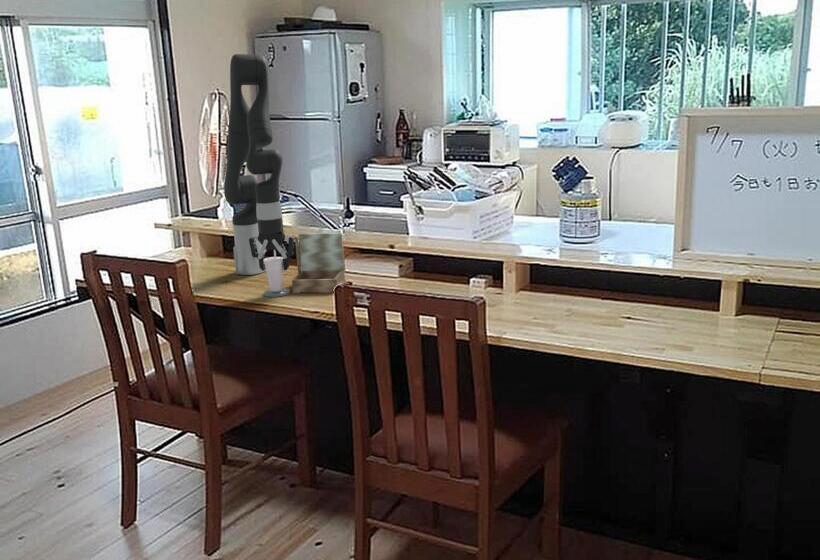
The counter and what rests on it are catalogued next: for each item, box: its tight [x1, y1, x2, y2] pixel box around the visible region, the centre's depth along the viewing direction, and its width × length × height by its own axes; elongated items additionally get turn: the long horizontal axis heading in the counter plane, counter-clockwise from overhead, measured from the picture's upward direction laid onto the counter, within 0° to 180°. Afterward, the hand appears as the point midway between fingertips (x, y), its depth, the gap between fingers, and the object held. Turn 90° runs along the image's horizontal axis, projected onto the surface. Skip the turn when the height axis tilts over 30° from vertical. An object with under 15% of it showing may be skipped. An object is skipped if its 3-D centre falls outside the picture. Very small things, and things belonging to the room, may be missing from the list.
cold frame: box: [291, 232, 346, 294], centre depth 254 cm, size 15×13×16 cm
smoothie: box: [263, 250, 284, 291], centre depth 249 cm, size 6×6×14 cm
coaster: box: [263, 287, 291, 298], centre depth 251 cm, size 8×8×1 cm
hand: (274, 269), depth 249 cm, fingers closed on smoothie, 6 cm apart
